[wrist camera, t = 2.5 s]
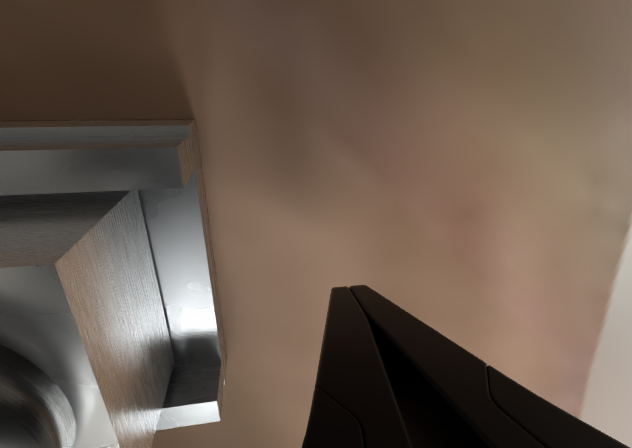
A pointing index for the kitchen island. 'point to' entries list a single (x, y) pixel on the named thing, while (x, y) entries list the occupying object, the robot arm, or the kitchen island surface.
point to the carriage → (79, 323)
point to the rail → (161, 226)
